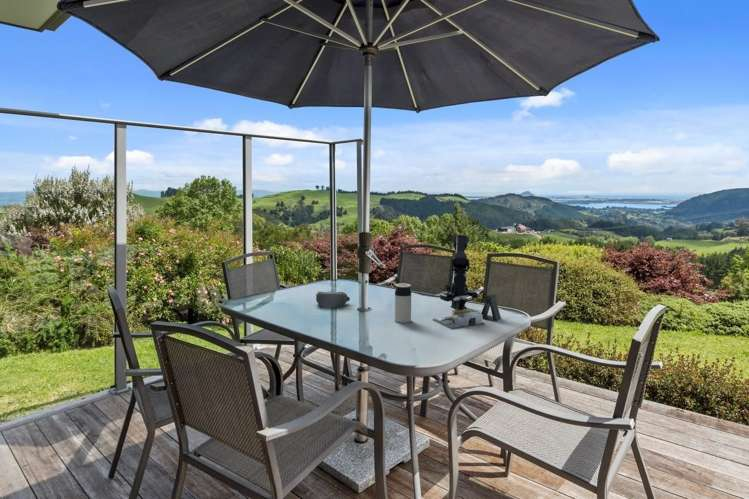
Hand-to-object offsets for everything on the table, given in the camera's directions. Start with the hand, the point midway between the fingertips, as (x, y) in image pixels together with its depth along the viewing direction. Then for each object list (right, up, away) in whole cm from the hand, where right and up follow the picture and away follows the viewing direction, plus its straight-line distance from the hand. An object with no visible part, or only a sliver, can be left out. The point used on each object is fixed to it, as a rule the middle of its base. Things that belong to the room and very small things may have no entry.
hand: (458, 312), depth 215 cm
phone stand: (+16, -4, +3) cm, 17 cm away
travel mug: (-28, -4, -1) cm, 28 cm away
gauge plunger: (-1, -3, -5) cm, 6 cm away
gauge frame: (-1, -4, -3) cm, 5 cm away
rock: (-66, 0, +29) cm, 72 cm away
